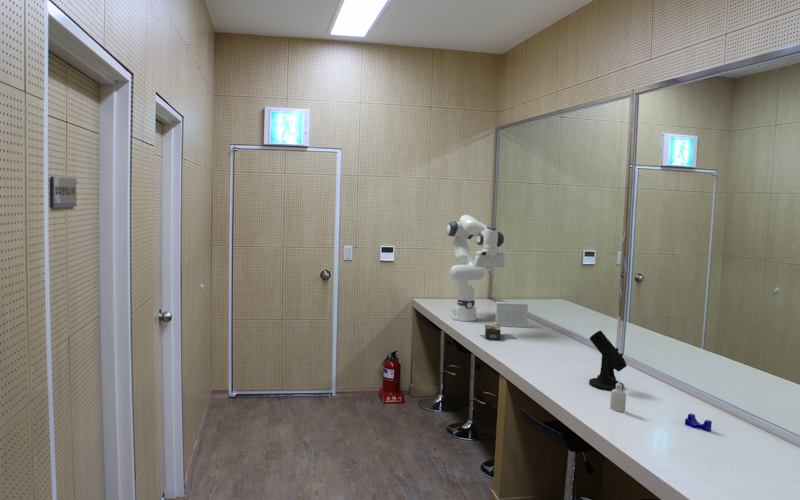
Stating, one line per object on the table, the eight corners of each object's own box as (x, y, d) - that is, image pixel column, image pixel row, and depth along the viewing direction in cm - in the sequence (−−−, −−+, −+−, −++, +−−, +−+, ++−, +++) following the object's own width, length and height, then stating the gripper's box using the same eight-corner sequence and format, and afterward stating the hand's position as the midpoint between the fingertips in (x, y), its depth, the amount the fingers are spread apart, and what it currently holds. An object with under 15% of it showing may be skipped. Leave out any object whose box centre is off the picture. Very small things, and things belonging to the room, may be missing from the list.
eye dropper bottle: (618, 407, 221) (620, 378, 220) (626, 412, 216) (628, 383, 215) (608, 407, 221) (610, 379, 220) (616, 412, 215) (618, 383, 214)
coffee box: (484, 332, 342) (484, 339, 326) (485, 322, 342) (485, 328, 326) (499, 333, 341) (500, 340, 325) (499, 324, 340) (500, 329, 324)
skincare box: (526, 326, 368) (527, 302, 366) (527, 327, 362) (528, 304, 361) (494, 324, 370) (495, 301, 368) (495, 326, 364) (496, 302, 363)
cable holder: (684, 425, 206) (685, 414, 205) (690, 423, 207) (691, 413, 207) (705, 433, 199) (706, 422, 198) (710, 431, 200) (711, 421, 200)
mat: (479, 335, 336) (479, 335, 336) (508, 334, 342) (508, 333, 342) (487, 339, 326) (487, 339, 326) (517, 338, 331) (517, 338, 331)
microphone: (592, 377, 259) (596, 326, 257) (630, 386, 249) (633, 332, 246) (581, 384, 248) (584, 331, 246) (619, 394, 237) (623, 338, 235)
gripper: (502, 252, 352) (501, 273, 353) (473, 251, 346) (472, 273, 347) (507, 253, 346) (506, 274, 347) (477, 252, 340) (476, 274, 341)
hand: (489, 273), depth 347 cm, fingers closed
